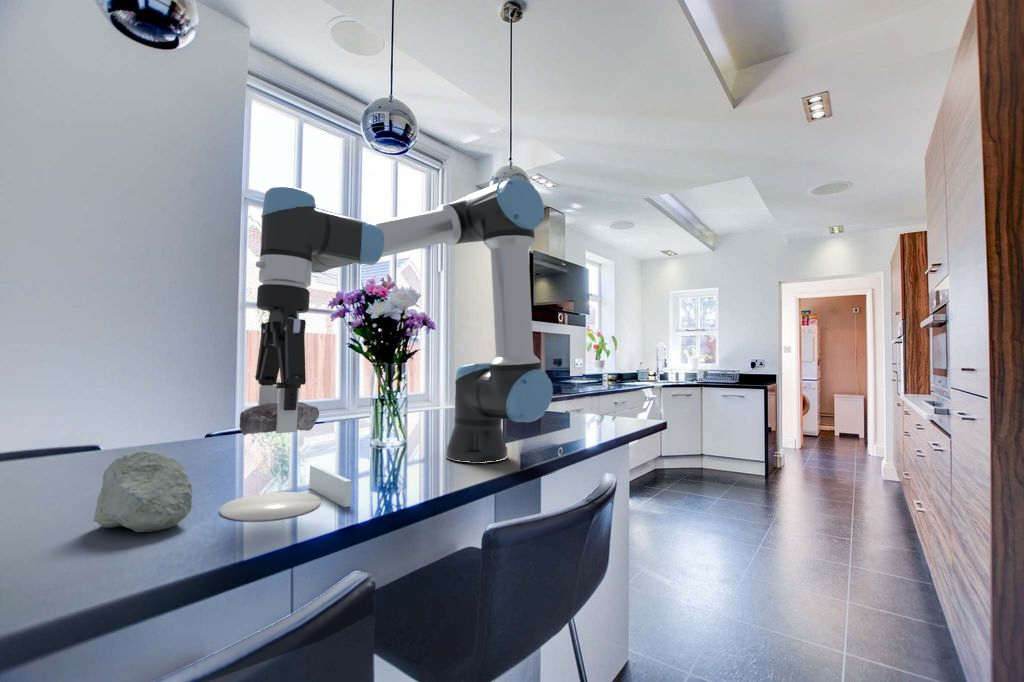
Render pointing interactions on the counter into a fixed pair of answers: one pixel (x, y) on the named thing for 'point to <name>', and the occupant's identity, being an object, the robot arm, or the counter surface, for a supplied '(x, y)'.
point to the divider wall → (330, 485)
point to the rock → (275, 418)
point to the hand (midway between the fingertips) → (275, 428)
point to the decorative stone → (144, 493)
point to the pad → (270, 506)
